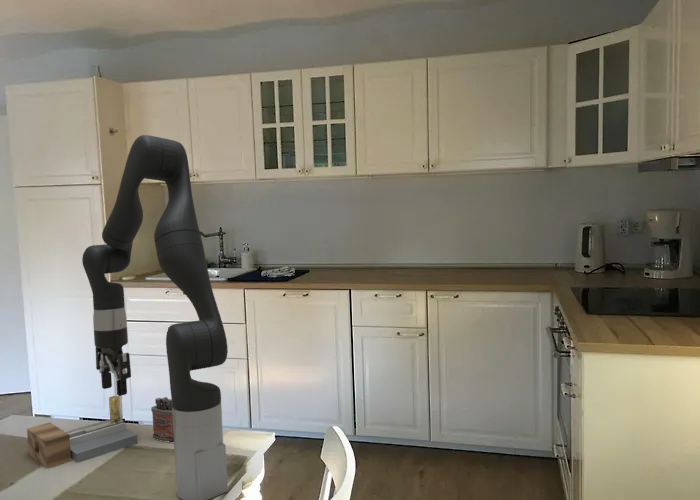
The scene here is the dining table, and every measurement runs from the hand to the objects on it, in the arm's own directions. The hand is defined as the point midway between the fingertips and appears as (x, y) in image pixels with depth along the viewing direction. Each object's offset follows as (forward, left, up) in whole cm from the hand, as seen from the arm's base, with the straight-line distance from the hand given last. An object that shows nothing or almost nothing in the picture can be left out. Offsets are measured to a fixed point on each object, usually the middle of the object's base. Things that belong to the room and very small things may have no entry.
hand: (114, 391), depth 142 cm
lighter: (-11, -7, -12) cm, 18 cm away
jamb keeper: (0, +16, -11) cm, 19 cm away
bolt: (0, +3, -9) cm, 10 cm away
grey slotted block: (0, +6, -11) cm, 13 cm away
